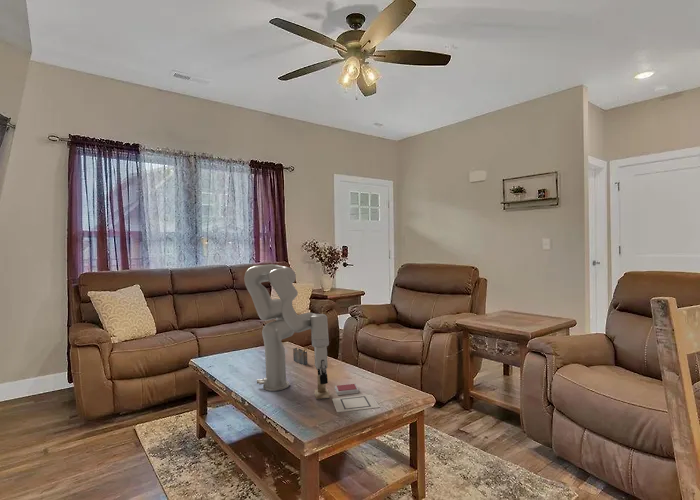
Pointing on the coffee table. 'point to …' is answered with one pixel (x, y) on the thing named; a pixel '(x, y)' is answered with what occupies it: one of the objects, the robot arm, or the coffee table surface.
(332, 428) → the coffee table surface
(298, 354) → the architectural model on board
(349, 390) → the ink pad
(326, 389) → the stamp
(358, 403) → the marked card
